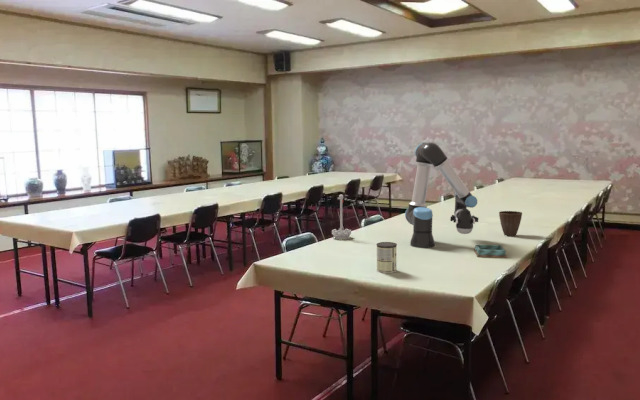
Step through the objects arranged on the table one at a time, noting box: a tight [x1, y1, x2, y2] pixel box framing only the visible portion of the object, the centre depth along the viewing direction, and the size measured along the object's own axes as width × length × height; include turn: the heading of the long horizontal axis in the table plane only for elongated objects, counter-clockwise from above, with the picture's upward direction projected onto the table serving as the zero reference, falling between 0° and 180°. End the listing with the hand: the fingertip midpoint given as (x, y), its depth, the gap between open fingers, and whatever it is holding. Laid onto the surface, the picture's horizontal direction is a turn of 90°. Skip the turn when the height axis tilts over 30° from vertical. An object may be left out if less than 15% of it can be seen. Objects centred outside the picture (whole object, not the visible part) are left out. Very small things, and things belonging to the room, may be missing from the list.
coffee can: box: [376, 241, 398, 274], centre depth 275 cm, size 10×10×14 cm
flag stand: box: [331, 194, 352, 240], centre depth 362 cm, size 13×13×30 cm
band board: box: [473, 244, 508, 259], centre depth 310 cm, size 16×16×4 cm
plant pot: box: [498, 210, 523, 237], centre depth 365 cm, size 15×15×16 cm
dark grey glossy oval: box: [455, 208, 474, 235], centre depth 325 cm, size 10×10×15 cm
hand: (465, 221), depth 321 cm, fingers closed on dark grey glossy oval, 9 cm apart
